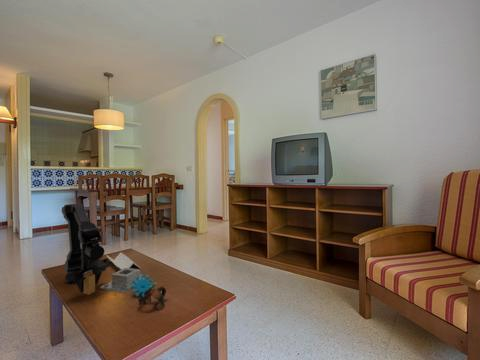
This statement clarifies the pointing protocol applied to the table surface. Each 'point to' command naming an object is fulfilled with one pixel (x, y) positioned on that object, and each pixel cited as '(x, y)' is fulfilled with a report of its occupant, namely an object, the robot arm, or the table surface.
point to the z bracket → (122, 261)
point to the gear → (142, 285)
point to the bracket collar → (123, 280)
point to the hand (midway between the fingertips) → (89, 288)
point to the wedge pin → (89, 284)
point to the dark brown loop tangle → (155, 294)
